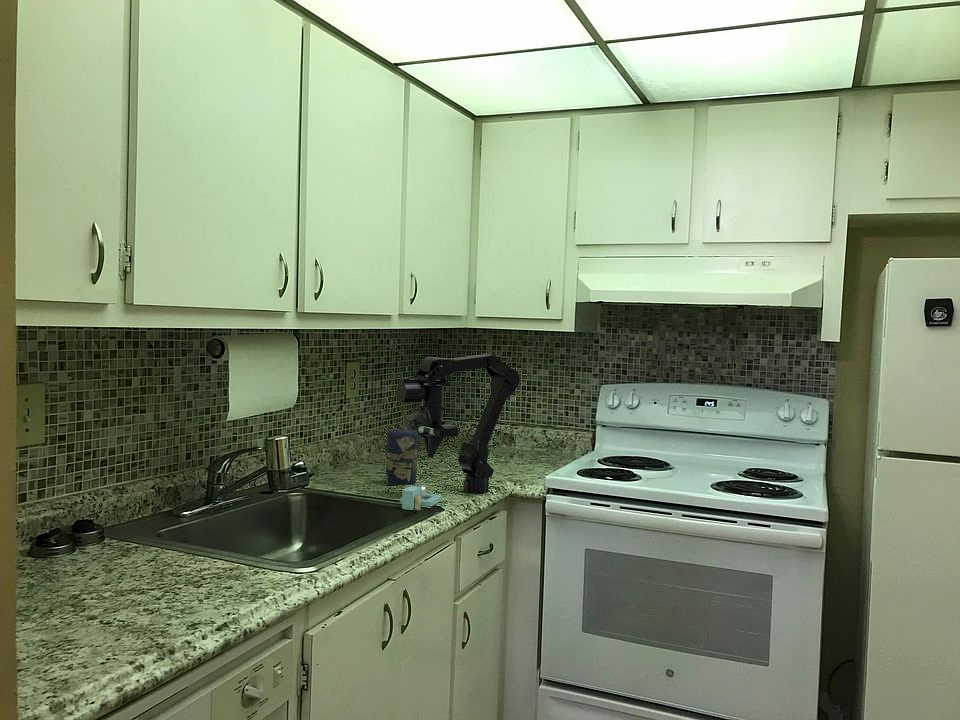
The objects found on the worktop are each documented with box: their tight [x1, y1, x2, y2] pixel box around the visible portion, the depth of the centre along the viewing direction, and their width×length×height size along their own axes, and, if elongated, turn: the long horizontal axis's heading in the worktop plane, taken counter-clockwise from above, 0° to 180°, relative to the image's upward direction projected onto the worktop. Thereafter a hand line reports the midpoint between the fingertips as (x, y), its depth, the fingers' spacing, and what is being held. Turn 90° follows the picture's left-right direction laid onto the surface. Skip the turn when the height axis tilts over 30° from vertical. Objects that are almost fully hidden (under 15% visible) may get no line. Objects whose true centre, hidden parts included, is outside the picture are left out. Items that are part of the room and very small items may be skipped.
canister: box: [385, 426, 419, 487], centre depth 235 cm, size 10×10×18 cm
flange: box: [399, 485, 443, 511], centre depth 208 cm, size 14×9×5 cm, turn 163°
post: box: [415, 484, 428, 500], centre depth 210 cm, size 3×3×4 cm
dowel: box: [414, 496, 422, 511], centre depth 202 cm, size 2×2×4 cm
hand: (430, 457), depth 215 cm, fingers closed
